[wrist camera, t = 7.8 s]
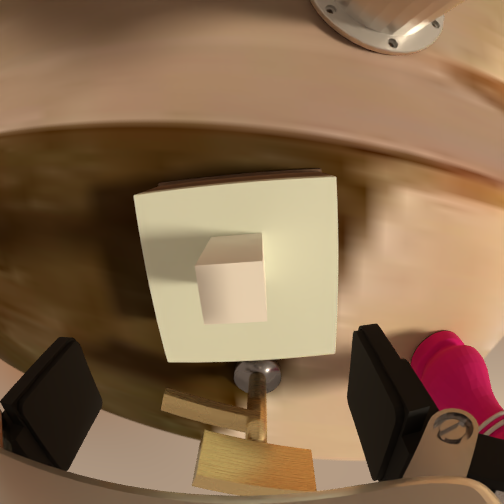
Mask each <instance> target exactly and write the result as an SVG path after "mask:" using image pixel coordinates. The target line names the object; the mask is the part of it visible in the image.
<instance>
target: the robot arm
mask: <svg viewBox="0 0 504 504" xmlns="http://www.w3.org/2000/svg"><path fill="white" fill-rule="evenodd" d="M310 1H311V4H312V5H313V7H314V8H315V9H316V11H317V12H318V14H319V15H320V16H321V17H322V18H323V19H324V21H325V22H326V23H327V24H328V25H329V26H330V27H332V28H333V29H334V30H335V31H337V32H338V33H339V34H340V35H342V36H344V37H345V38H347V39H348V40H350V41H351V42H353V43H355V44H357V45H360V46H362V47H364V48H366V49H369V50H372V51H375V52H378V53H383V54H389V55H408V54H413V53H417V52H419V51H421V50H423V49H425V48H427V47H428V46H430V45H431V44H433V43H434V42H435V41H436V40H437V38H438V37H439V36H440V34H441V32H442V29H443V25H444V14H445V13H447V12H448V11H450V10H451V9H453V8H454V7H456V6H458V5H459V4H461V3H462V2H464V1H466V0H310ZM327 11H329V12H331V13H332V14H331V13H328V12H327ZM389 44H390V45H391V46H390V45H389ZM347 400H348V405H349V408H350V411H351V414H352V417H353V420H354V423H355V426H356V429H357V432H358V435H359V439H360V442H361V445H362V448H363V451H364V454H365V458H366V461H367V464H368V467H369V471H370V474H371V477H372V479H373V480H374V481H376V480H378V481H379V482H376V483H370V484H364V485H357V486H351V487H344V488H338V489H331V490H323V491H314V492H305V493H292V494H279V495H257V496H222V495H221V496H219V495H199V494H186V493H175V492H166V491H158V490H151V489H144V488H138V487H132V486H126V485H121V484H116V483H111V482H106V481H102V480H97V479H93V478H89V477H85V476H82V475H77V474H74V473H71V472H67V470H68V469H69V467H70V466H71V464H72V461H73V460H74V458H75V456H76V454H77V452H78V450H79V448H80V446H81V445H82V443H83V441H84V439H85V437H86V435H87V433H88V431H89V430H90V428H91V426H92V424H93V422H94V420H95V418H96V417H97V415H98V413H99V411H100V410H101V407H102V398H101V396H100V394H99V391H98V389H97V387H96V384H95V382H94V380H93V377H92V375H91V372H90V370H89V367H88V365H87V362H86V360H85V357H84V354H83V352H82V349H81V346H80V344H79V343H78V342H76V340H75V339H74V338H68V337H59V338H58V339H57V340H56V341H55V342H54V343H53V344H52V345H51V346H50V347H49V348H48V349H47V350H46V351H45V352H44V353H43V354H42V355H41V356H40V358H39V359H38V360H37V361H36V362H35V363H34V364H33V365H32V366H31V367H30V368H29V369H28V370H27V372H26V373H25V374H24V375H23V376H22V377H21V378H20V379H19V381H17V383H16V384H15V385H14V386H13V387H12V388H11V389H10V391H9V392H8V393H7V394H6V395H5V396H4V397H3V398H2V400H1V401H0V403H1V404H2V406H3V408H4V409H5V411H4V412H3V413H2V411H1V410H0V504H504V440H503V439H499V438H495V437H491V436H488V435H484V434H480V433H479V426H478V423H477V420H476V419H475V418H474V417H473V416H472V415H471V414H470V413H468V412H467V411H464V410H461V409H455V408H449V409H443V410H441V411H439V409H438V407H437V406H436V404H435V403H434V401H433V399H432V398H431V396H430V395H429V393H428V392H427V390H426V388H425V387H424V385H423V384H422V382H421V381H420V379H419V378H418V376H417V374H416V373H415V371H414V370H413V368H412V367H411V365H410V364H409V362H408V361H407V360H406V359H400V357H399V355H398V354H397V352H396V351H395V349H394V348H393V346H392V345H391V343H390V342H389V340H388V339H387V337H386V336H385V334H384V333H383V331H382V330H381V328H380V327H379V325H378V324H370V325H363V326H360V327H359V329H358V331H354V332H353V340H352V353H351V364H350V374H349V383H348V392H347Z"/></svg>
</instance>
